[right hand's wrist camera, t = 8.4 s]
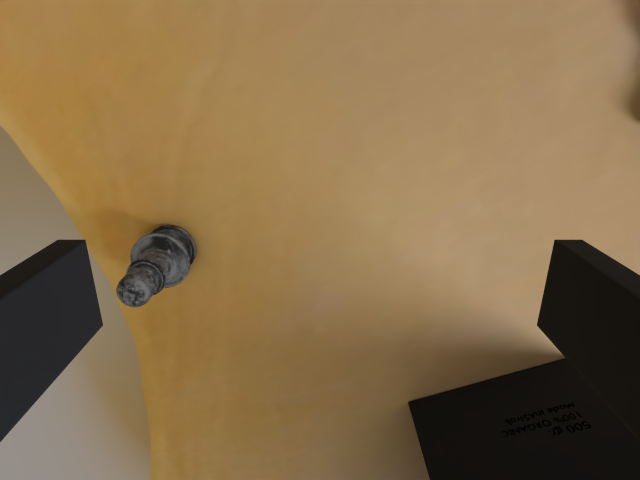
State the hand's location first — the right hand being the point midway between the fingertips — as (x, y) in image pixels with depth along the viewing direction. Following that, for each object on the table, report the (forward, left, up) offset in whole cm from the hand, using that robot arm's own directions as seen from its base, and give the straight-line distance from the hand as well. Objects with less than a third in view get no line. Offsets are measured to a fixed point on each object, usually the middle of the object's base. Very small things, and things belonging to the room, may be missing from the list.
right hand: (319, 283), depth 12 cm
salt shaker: (+17, -10, -32) cm, 38 cm away
